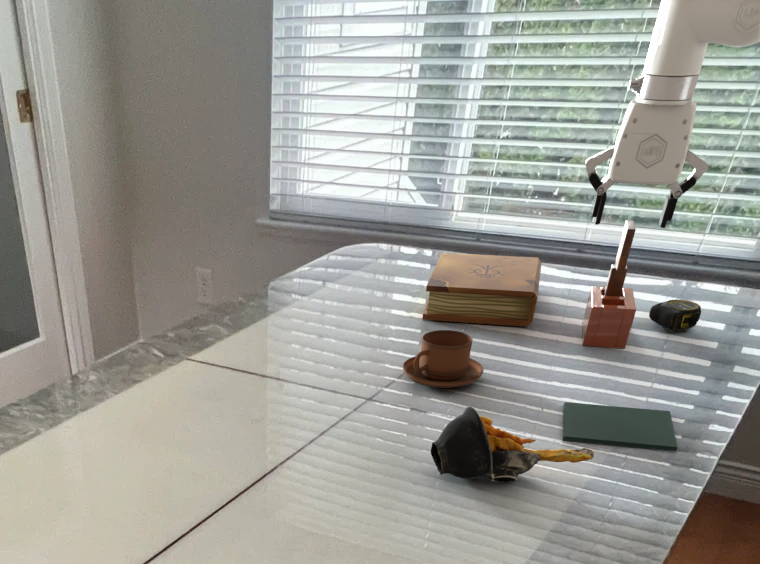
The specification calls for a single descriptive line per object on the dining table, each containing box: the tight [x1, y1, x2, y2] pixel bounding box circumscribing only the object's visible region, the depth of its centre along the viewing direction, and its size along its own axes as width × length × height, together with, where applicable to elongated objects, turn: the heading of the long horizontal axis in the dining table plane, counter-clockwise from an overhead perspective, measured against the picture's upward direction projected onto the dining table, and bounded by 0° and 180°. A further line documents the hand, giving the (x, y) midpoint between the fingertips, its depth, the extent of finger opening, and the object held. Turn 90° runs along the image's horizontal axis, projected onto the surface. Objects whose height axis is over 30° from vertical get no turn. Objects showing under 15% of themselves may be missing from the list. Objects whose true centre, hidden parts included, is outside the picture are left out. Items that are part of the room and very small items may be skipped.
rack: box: [581, 285, 637, 350], centre depth 140 cm, size 7×12×6 cm, turn 163°
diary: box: [422, 252, 542, 327], centre depth 154 cm, size 23×19×6 cm
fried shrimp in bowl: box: [430, 405, 595, 483], centre depth 102 cm, size 9×11×18 cm
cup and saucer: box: [402, 329, 484, 389], centre depth 127 cm, size 12×12×6 cm
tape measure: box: [648, 299, 702, 332], centre depth 142 cm, size 7×7×4 cm
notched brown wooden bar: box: [603, 219, 637, 296], centre depth 138 cm, size 2×6×16 cm, turn 163°
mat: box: [562, 401, 678, 452], centre depth 115 cm, size 14×12×1 cm
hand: (629, 224), depth 133 cm, fingers open, 9 cm apart
